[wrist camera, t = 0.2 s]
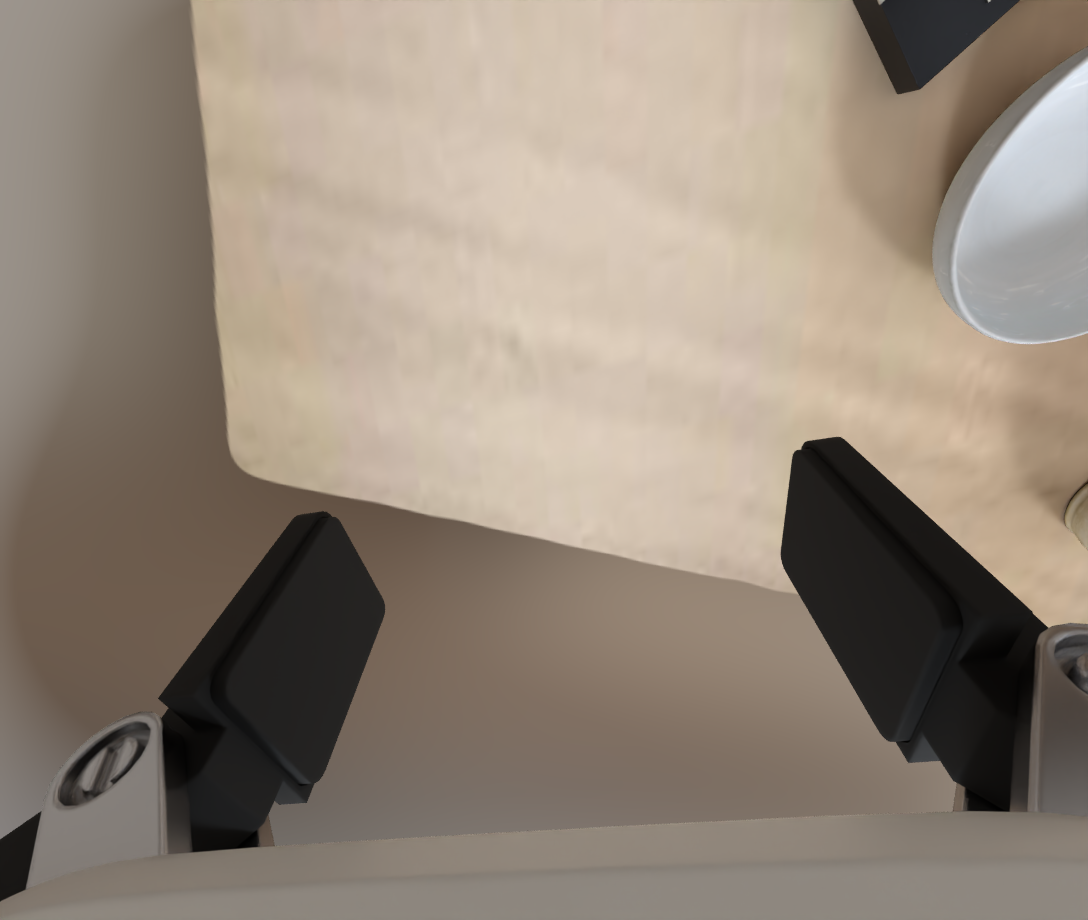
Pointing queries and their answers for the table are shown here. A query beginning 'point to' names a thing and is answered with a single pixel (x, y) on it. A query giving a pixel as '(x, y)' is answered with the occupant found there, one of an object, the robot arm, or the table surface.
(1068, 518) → the jug
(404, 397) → the table surface
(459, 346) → the table surface
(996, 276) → the serving bowl
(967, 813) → the robot arm
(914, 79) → the tap console
